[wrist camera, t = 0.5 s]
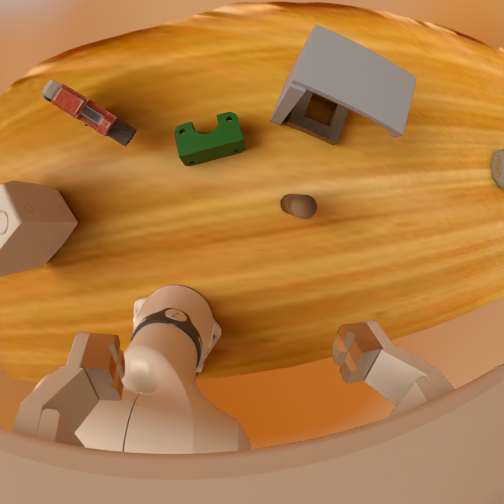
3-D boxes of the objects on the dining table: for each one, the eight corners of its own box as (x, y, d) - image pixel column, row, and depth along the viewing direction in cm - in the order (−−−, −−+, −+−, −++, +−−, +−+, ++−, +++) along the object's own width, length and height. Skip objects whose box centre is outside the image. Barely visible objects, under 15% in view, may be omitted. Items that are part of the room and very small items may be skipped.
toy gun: (128, 146, 54) (121, 149, 41) (55, 101, 44) (29, 93, 31) (139, 130, 53) (135, 128, 40) (66, 85, 44) (43, 72, 31)
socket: (333, 145, 54) (337, 143, 51) (285, 124, 52) (288, 121, 50) (347, 102, 52) (352, 99, 50) (302, 82, 51) (305, 78, 48)
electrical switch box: (52, 172, 52) (-11, 158, 32) (82, 222, 53) (16, 222, 33) (19, 216, 54) (-42, 217, 34) (46, 266, 54) (-17, 280, 34)
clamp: (228, 134, 56) (244, 110, 48) (235, 160, 56) (253, 139, 48) (169, 139, 51) (177, 113, 43) (174, 167, 51) (184, 145, 43)
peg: (295, 215, 56) (311, 222, 44) (277, 209, 55) (290, 213, 44) (301, 198, 55) (320, 200, 44) (284, 191, 55) (298, 191, 43)
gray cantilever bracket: (345, 153, 54) (401, 137, 33) (270, 121, 52) (291, 83, 31) (360, 107, 52) (417, 75, 32) (288, 74, 50) (317, 21, 29)
